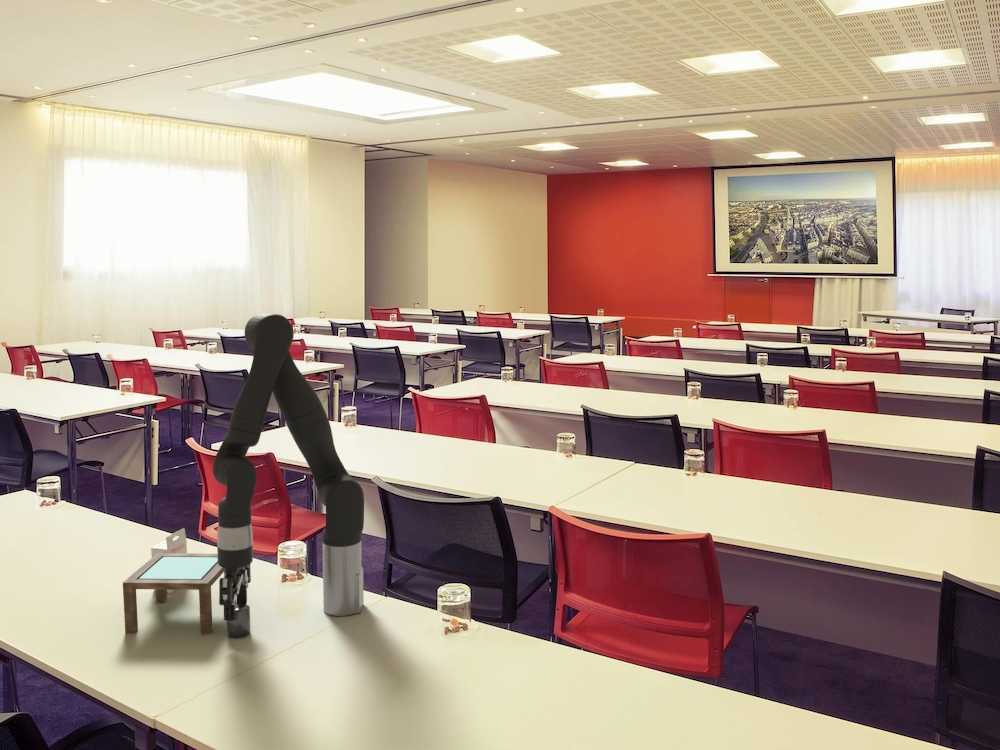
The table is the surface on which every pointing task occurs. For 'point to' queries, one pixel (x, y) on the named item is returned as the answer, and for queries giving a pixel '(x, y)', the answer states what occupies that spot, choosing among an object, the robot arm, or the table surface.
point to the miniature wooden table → (163, 585)
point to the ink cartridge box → (171, 546)
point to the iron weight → (239, 622)
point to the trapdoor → (181, 568)
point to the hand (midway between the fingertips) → (235, 612)
